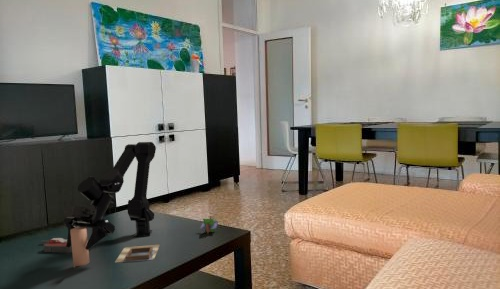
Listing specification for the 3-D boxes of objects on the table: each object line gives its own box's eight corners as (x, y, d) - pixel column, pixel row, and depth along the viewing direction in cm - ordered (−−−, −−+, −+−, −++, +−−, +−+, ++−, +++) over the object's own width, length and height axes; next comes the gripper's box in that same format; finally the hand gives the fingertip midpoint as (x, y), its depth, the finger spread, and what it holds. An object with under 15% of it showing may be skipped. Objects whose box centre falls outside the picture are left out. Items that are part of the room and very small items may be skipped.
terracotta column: (76, 263, 129) (73, 227, 128) (91, 262, 130) (88, 226, 129) (71, 270, 124) (67, 232, 123) (86, 268, 125) (83, 230, 124)
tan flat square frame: (124, 250, 140) (124, 247, 140) (160, 247, 141) (159, 244, 141) (114, 266, 125) (114, 262, 125) (153, 263, 127) (153, 259, 126)
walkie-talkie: (86, 245, 149) (43, 244, 153) (85, 234, 148) (42, 233, 152) (71, 254, 140) (26, 252, 144) (70, 242, 140) (25, 241, 144)
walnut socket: (130, 252, 134) (130, 248, 134) (152, 250, 135) (152, 246, 135) (125, 261, 126) (125, 257, 126) (149, 259, 127) (148, 255, 127)
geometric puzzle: (213, 232, 150) (216, 213, 154) (197, 231, 151) (200, 213, 155) (218, 237, 156) (220, 219, 160) (202, 237, 157) (205, 219, 161)
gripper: (64, 194, 132) (39, 235, 123) (106, 196, 125) (83, 239, 116) (83, 210, 140) (62, 249, 131) (123, 213, 133) (104, 254, 124)
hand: (76, 248), depth 125 cm, fingers open, 8 cm apart
